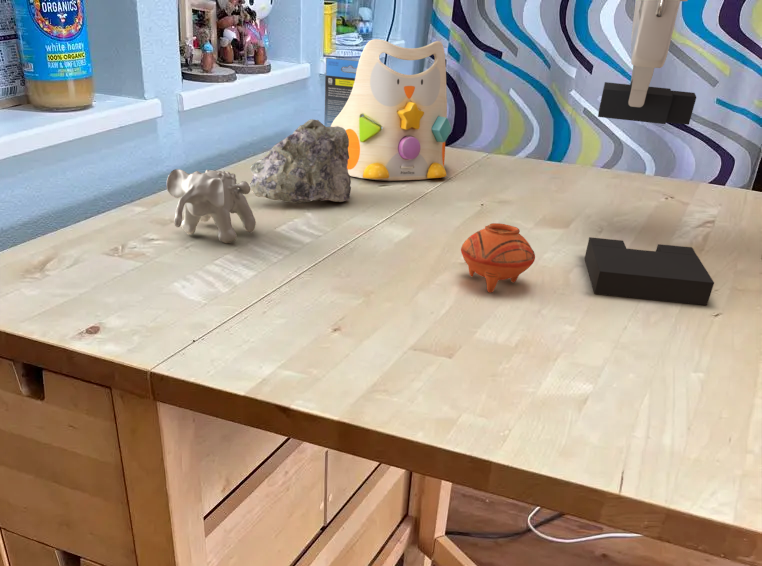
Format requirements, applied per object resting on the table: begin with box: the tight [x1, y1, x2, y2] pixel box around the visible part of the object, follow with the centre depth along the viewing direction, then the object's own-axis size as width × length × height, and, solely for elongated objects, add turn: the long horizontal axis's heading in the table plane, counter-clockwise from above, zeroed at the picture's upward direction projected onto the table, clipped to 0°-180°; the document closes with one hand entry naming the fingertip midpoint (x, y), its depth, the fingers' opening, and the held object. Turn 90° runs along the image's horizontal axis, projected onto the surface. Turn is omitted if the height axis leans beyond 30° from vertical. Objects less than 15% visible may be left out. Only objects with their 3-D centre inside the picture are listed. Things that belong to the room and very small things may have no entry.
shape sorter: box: [331, 38, 452, 182], centre depth 119 cm, size 20×10×18 cm, turn 111°
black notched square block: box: [584, 237, 715, 306], centre depth 91 cm, size 12×12×2 cm
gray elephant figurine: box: [166, 168, 257, 244], centre depth 92 cm, size 9×12×8 cm
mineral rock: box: [249, 118, 352, 204], centre depth 107 cm, size 13×11×10 cm
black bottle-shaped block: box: [597, 81, 697, 125], centre depth 98 cm, size 6×11×3 cm, turn 75°
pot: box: [460, 222, 536, 294], centre depth 87 cm, size 8×8×7 cm
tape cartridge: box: [323, 57, 365, 127], centre depth 138 cm, size 9×4×12 cm, turn 74°
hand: (635, 101), depth 99 cm, fingers closed on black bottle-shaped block, 6 cm apart
